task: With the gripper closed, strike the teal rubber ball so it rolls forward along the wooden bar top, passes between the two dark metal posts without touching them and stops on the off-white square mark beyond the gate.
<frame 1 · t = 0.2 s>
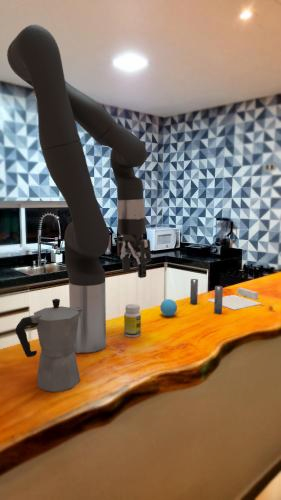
hand: (134, 274, 102), 17 cm above the countertop, tool pointing down, fingers open, 8 cm apart
supplement bottle: (132, 335, 104), on the countertop
stopper wall: (247, 296, 144), on the countertop
post right: (218, 312, 124), on the countertop
coffeepot: (54, 383, 77), on the countertop
post left: (193, 303, 134), on the countertop
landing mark: (233, 302, 136), on the countertop
ball: (168, 307, 120), on the countertop
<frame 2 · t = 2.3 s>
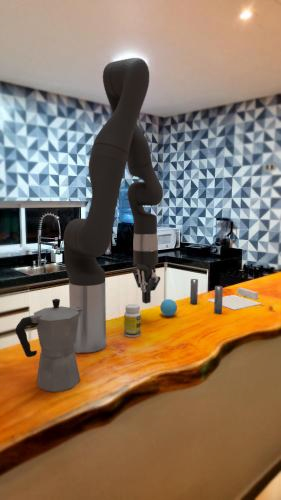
hand: (146, 302, 115), 6 cm above the countertop, tool pointing down, fingers closed
nothing on the countertop moved.
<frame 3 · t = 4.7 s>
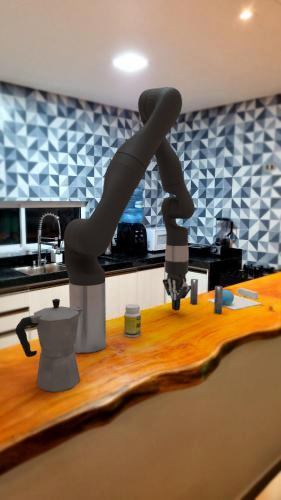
hand: (175, 309, 122), 2 cm above the countertop, tool pointing down, fingers closed
ball: (226, 297, 132), on the countertop
everything else where it was.
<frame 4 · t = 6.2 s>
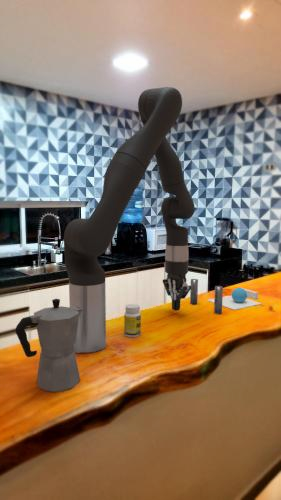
hand: (175, 309, 122), 2 cm above the countertop, tool pointing down, fingers closed
ball: (239, 295, 136), on the countertop
everything else where it was.
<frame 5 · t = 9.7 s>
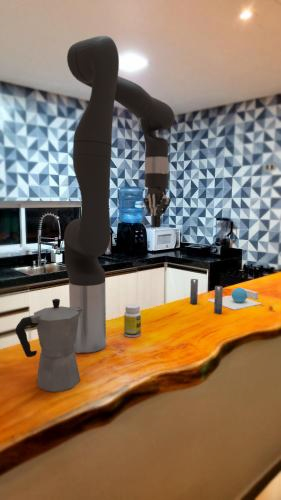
hand: (156, 227, 118), 29 cm above the countertop, tool pointing down, fingers closed
nothing on the countertop moved.
at the end: ball 1.8 cm from the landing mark (horizontally); ball never touched post left; ball never touched post right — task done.
